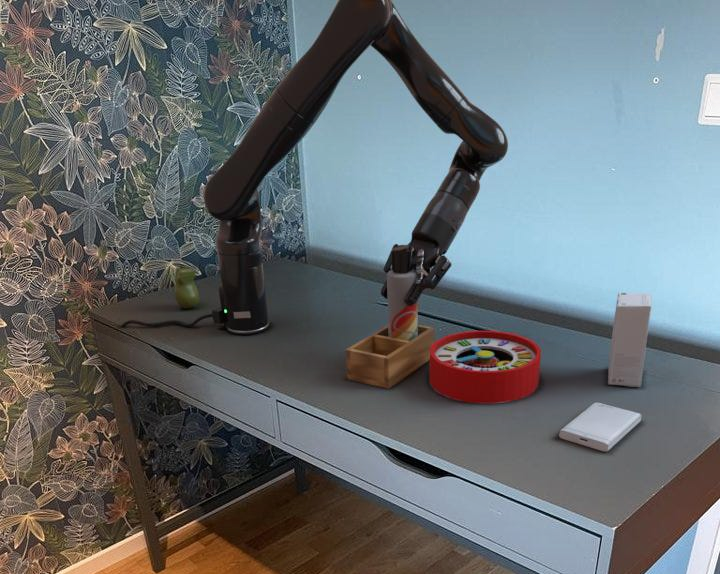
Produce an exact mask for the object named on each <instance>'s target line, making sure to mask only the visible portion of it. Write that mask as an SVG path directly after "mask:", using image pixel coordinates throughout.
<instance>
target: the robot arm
mask: <svg viewBox="0 0 720 574" xmlns="http://www.w3.org/2000/svg"><path fill="white" fill-rule="evenodd" d="M369 47H372V48H373V49H374V50H375V51H376V52H378V54H380V55H381V56H382V57H383V58H384V59H385V60H386V62H388V64H389V65H390V66H391V67H392V69H393V70H394V71H395V72H396V74H397V75H398V77H399V78H400V79H401V81H402V82H403V84H404V85H405V87H406V89H407V90H408V92H409V93H410V95H411V96H412V97H413V99H414V100H415V101H416V103H417V104H418V106H419V107H420V108H421V109H422V110H423V112H425V114H426V115H427V116H428V118H429V119H430V120H431V121H432V122H433V123H434V125H436V126H437V127H438V129H439V130H441V132H442V133H444V134H446V135H455V136H457V137H458V138H460V140H462V141H461V142H460V144H459V146H458V147H457V149H456V151H455V153H454V155H453V157H452V160H451V162H450V166H449V168H448V171H447V174H446V176H444V178H443V180H442V182H441V183H440V186H439V187H438V188H437V191H436V193H434V195H433V197H432V198H431V200H430V201H429V202H428V203H427V205H426V206H425V209H424V210H423V212H422V214H421V215H420V217H419V219H418V221H417V223H416V224H415V226H414V227H413V230H412V232H411V240H410V241H409V243H408V244H407V245H410V247H411V248H412V269H413V270H415V271H416V273H417V274H416V280H415V283H416V284H413V285H412V286H411V288H410V290H409V292H408V293H407V295H406V297H405V299H404V302H405V303H406V304H407V305H408V306H411V307H412V306H413V305H414V304H415V303H416V302H417V300H419V298H420V297H421V295H422V293H423V291H426V290H427V289H430V290H435V289H436V287H437V286H438V284H440V282H441V280H442V279H443V278H444V277H445V275H446V274H447V272H448V271H449V270H450V268H452V265H453V264H452V262H451V261H450V260H449V259H448V257H447V256H445V254H447V252H448V251H449V249H450V247H451V245H452V243H453V242H454V240H455V238H456V237H457V235H458V233H459V231H460V229H461V228H462V226H463V224H464V223H465V220H466V217H467V215H468V212H469V211H470V209H471V208H472V206H473V205H474V202H475V200H476V199H477V197H478V195H479V193H480V190H481V183H480V181H481V178H482V176H483V175H484V173H485V172H486V170H487V169H489V168H490V167H492V166H494V165H496V164H498V163H500V162H501V161H502V160H503V159H504V158H505V157H506V155H507V152H508V149H509V141H508V137H507V135H506V132H505V130H504V129H503V128H502V126H501V125H500V124H499V123H498V122H497V121H496V120H495V119H494V118H492V117H491V116H490V115H489V114H487V113H486V112H484V110H482V109H481V108H479V107H478V106H476V105H475V104H473V103H472V102H471V101H470V100H469V99H468V97H466V96H465V94H464V93H463V92H462V90H460V88H459V87H458V86H457V85H456V84H455V82H454V81H453V80H452V79H451V77H450V76H448V74H447V73H446V72H445V71H444V70H443V69H442V67H440V65H439V64H438V63H437V62H436V61H435V60H434V58H432V56H431V55H430V54H429V53H428V51H427V50H426V49H425V48H424V47H423V46H422V45H421V43H420V42H419V40H417V38H416V37H415V36H414V34H413V32H411V30H410V28H409V26H407V24H406V23H405V21H404V19H403V18H402V16H401V14H400V13H399V11H398V9H397V7H396V6H395V3H394V2H393V1H392V0H338V1H337V3H336V4H335V6H334V8H333V10H332V12H331V14H330V16H329V17H328V19H327V21H326V22H325V24H324V26H323V27H322V29H321V31H320V32H319V34H318V36H317V37H316V38H315V40H314V42H313V43H312V44H311V46H309V49H307V51H306V52H305V53H304V54H303V55H302V56H301V57H300V58H299V59H298V60H297V62H296V63H295V64H294V65H293V66H292V67H291V68H290V69H289V71H288V72H287V73H286V74H285V76H284V77H283V78H282V79H281V81H280V82H279V83H278V85H277V86H276V88H275V89H274V90H273V92H272V93H271V95H270V96H269V97H268V98H267V100H266V102H265V103H264V105H263V106H262V108H261V109H260V111H259V113H258V114H257V115H256V117H255V119H254V120H253V122H252V123H251V124H250V126H249V128H248V130H247V132H246V133H245V135H244V137H243V138H242V140H241V141H240V143H239V144H238V146H237V147H236V149H235V150H234V151H233V153H232V154H231V155H230V156H229V157H228V158H227V159H226V161H225V162H224V163H223V164H222V165H220V166H221V167H220V168H218V169H217V170H216V171H215V173H213V175H212V176H211V177H210V178H209V179H208V180H207V182H206V184H205V186H204V190H203V203H204V206H205V208H206V209H205V210H207V212H208V214H209V215H210V216H212V217H213V218H214V219H216V220H218V221H219V222H218V224H219V225H218V230H217V235H216V237H215V248H216V255H217V262H218V269H219V277H220V284H221V285H219V286H218V295H219V302H220V306H219V307H216V308H214V309H212V310H211V313H208V314H204V315H201V316H199V317H197V318H196V319H195V320H193V321H192V322H190V323H185V322H183V321H181V320H177V319H176V320H175V319H173V320H164V321H159V322H145V321H140V320H136V319H135V320H134V319H130V320H126V321H124V322H123V323H122V324H121V325H120V328H126V326H128V325H130V324H134V325H139V326H142V327H143V326H144V327H160V326H161V327H162V326H167V325H174V324H175V325H180V326H183V327H185V328H192V327H193V326H195V325H197V324H199V322H201V321H203V320H205V319H209V318H212V321H213V324H217V325H222V324H223V329H225V330H227V332H229V333H231V334H234V335H242V336H243V335H245V336H246V335H254V334H258V333H261V332H264V331H266V330H267V329H268V328H269V327H270V321H269V316H268V315H269V313H268V304H267V294H266V285H265V276H264V275H265V274H264V266H263V259H262V248H261V236H262V215H261V213H262V211H261V201H260V193H259V188H258V187H259V186H260V185H261V183H262V182H263V180H264V179H265V177H266V176H268V174H269V173H270V172H271V171H272V170H273V169H274V168H275V167H276V166H277V165H278V164H280V162H281V161H283V160H284V159H285V158H286V157H287V156H288V155H289V154H290V153H291V152H292V151H293V150H294V149H295V148H296V147H297V146H298V145H299V144H300V143H301V141H302V140H303V139H304V138H305V137H306V135H307V134H308V133H309V131H310V130H311V129H312V127H313V126H314V125H315V123H316V122H317V121H318V120H319V118H320V117H321V115H322V114H323V112H324V111H325V109H326V108H327V106H328V104H329V102H330V100H331V99H332V97H333V95H334V93H335V91H336V89H338V88H337V87H338V85H340V82H341V80H342V79H343V77H344V76H345V74H346V73H347V72H348V70H349V69H350V68H351V67H352V66H353V65H354V63H356V61H358V59H359V58H360V57H361V56H362V55H363V54H364V53H365V51H367V49H368V48H369ZM399 245H400V244H398V243H395V244H394V245H392V247H391V250H392V249H393V248H394V247H396V246H399ZM390 270H392V252H391V251H390V252H389V255H388V257H387V259H386V262H385V264H384V267H383V270H382V271H383V272H384V273H385V274H387V273H388V272H389V271H390ZM380 295H381V297H383V298H384V299H386V300H388V297H387V279H386V281H385V282H384V284H383V285H382V287H381V289H380ZM128 409H129V413H130V418H131V422H132V427H133V432H134V433H133V434H134V437H138V436H139V434H138V428H137V422H136V419H135V413H134V409H133V406H132V405H128Z"/></svg>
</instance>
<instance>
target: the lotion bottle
mask: <svg viewBox="0 0 720 574" xmlns="http://www.w3.org/2000/svg"><path fill="white" fill-rule="evenodd" d="M398 245H399V246H396V247H394V248H393V247H392V248H393V249H392V248H391V250H390V252H392V266H391V268H392V270H390V271H389V272H388V273H386V280H387V297H388V299H387V322H388V323H387V325H388V335H389V337H391V338H396V339H402V340H407V341H411V340H412V339H414V338H415V337H417V336H418V325H419V322H418V321H419V319H418V318H419V316H418V314H419V313H418V311H419V310H418V308H419V307H418V305H419V304H418V302H419V301H418V300H419V299H418V300H417V302H416V303H415V304H414V305H413V306H412V307H411V306H408V305H407V304H406V303H405V302H404V299H405V297H406V295H407V293H408V292H409V290H410V288H411V286H412V285H413V284H416V283H415V280H416V274H417V273H416V271H415V270H413V269H412V248H411V247H410V245H408V244H398Z"/></svg>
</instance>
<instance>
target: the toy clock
mask: <svg viewBox="0 0 720 574" xmlns="http://www.w3.org/2000/svg"><path fill="white" fill-rule="evenodd" d="M541 356H542V349H541V348H540V346H539V345H538V344H537V343H536V342H534V341H533V340H531V339H530V338H527V337H525V336H523V335H519V334H515V333H511V332H505V331H499V330H471V331H470V330H469V331H461V332H456V333H452V334H448V335H445V336H443V337H441V338H439V339H437V340H435V343H433V345H432V346H431V348H430V360H429V377H428V378H429V385H430V386H431V388H432V389H433V390H434V391H435V392H437V393H438V394H440V395H442V396H444V397H446V398H449V399H451V400H455V401H460V402H465V403H471V404H483V405H484V404H485V405H486V404H487V405H488V404H502V403H503V404H504V403H508V402H514V401H517V400H520V399H524V398H525V397H528V396H529V395H531V394H533V393H534V392H535V391H536V390H537V389H538V386H539V382H540V381H539V380H540V369H541V359H542V358H541Z"/></svg>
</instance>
